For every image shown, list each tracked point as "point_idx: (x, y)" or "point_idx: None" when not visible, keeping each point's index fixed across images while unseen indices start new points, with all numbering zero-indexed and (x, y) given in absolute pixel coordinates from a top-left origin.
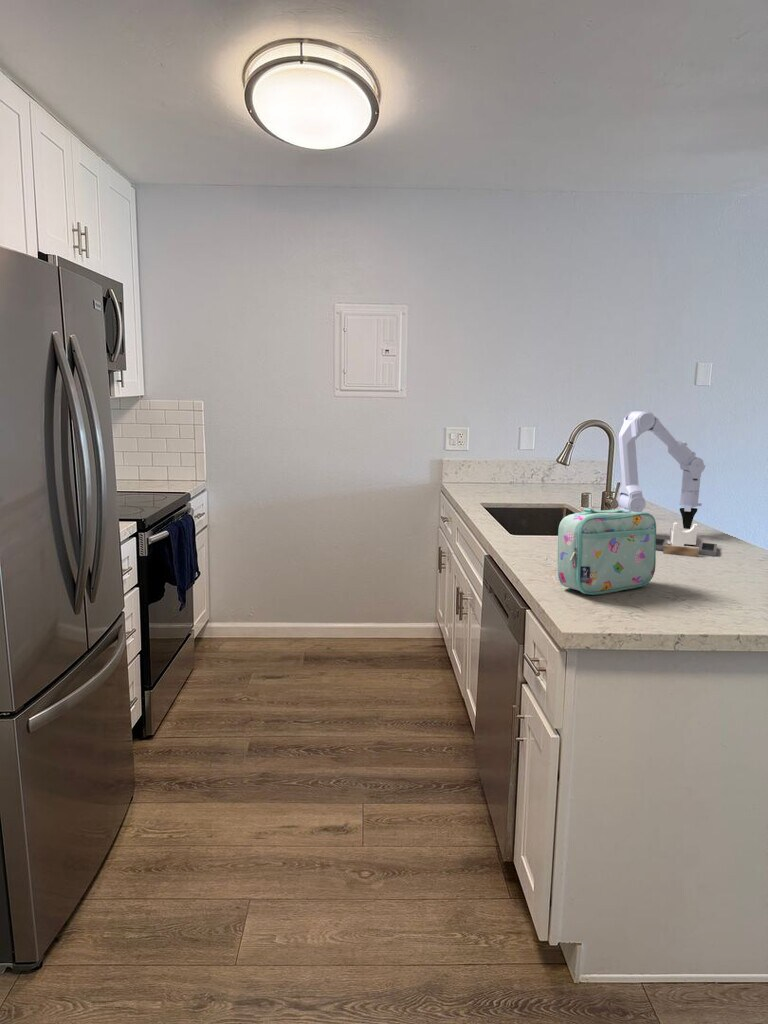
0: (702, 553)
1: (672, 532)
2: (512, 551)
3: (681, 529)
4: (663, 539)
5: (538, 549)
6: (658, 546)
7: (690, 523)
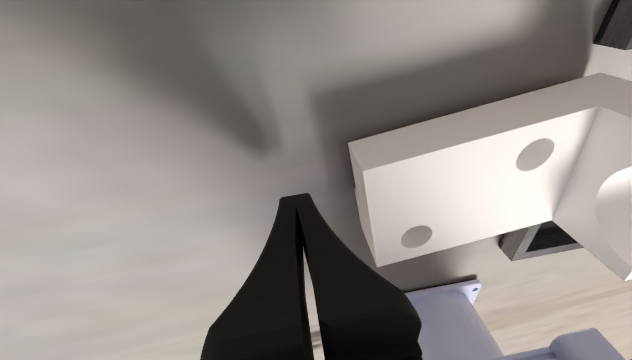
0: None
1: (507, 231)
2: (627, 355)
3: (391, 222)
4: (539, 224)
5: (613, 345)
6: None
7: (321, 223)
